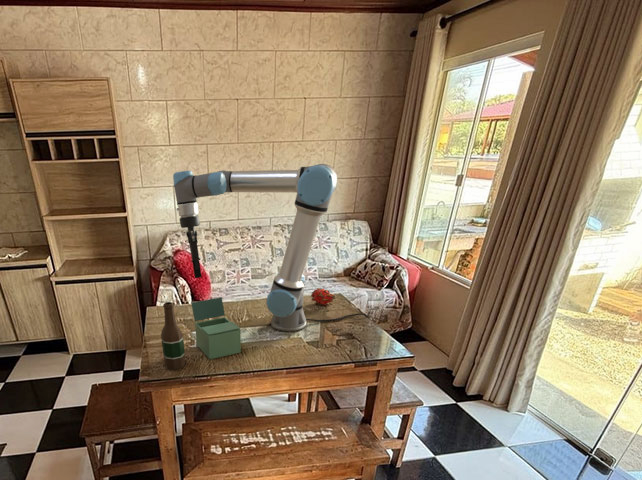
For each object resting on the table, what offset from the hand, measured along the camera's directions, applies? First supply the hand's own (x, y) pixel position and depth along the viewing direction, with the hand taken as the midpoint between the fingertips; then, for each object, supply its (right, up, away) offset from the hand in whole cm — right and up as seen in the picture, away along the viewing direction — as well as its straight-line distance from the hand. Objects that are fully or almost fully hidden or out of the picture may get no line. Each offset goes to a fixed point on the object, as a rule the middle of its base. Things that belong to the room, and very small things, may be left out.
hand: (198, 277), depth 166 cm
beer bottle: (-7, -36, -15) cm, 40 cm away
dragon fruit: (+59, -5, +37) cm, 70 cm away
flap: (+4, -14, -4) cm, 15 cm away
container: (+8, -29, -4) cm, 31 cm away
